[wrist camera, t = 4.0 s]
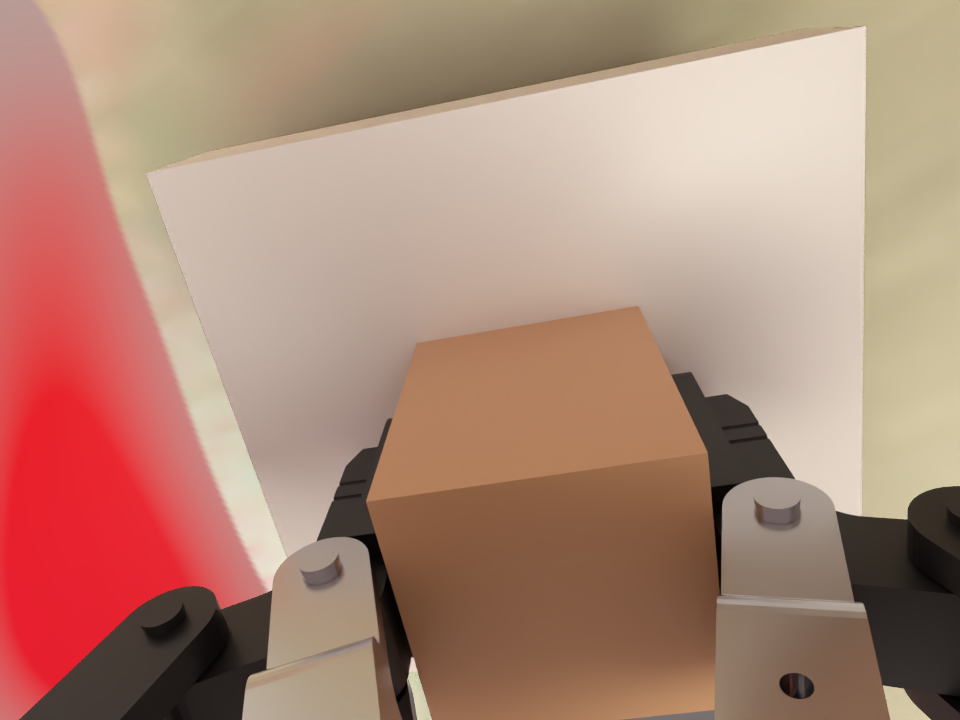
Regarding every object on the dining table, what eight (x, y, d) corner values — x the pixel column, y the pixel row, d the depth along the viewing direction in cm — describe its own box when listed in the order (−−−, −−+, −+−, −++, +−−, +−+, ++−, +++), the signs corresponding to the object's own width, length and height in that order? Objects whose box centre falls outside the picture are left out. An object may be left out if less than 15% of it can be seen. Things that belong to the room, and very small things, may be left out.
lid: (204, 152, 15) (-74, 252, 8) (805, 28, 13) (1121, 13, 6) (354, 604, 19) (264, 923, 12) (815, 545, 18) (1007, 866, 11)
